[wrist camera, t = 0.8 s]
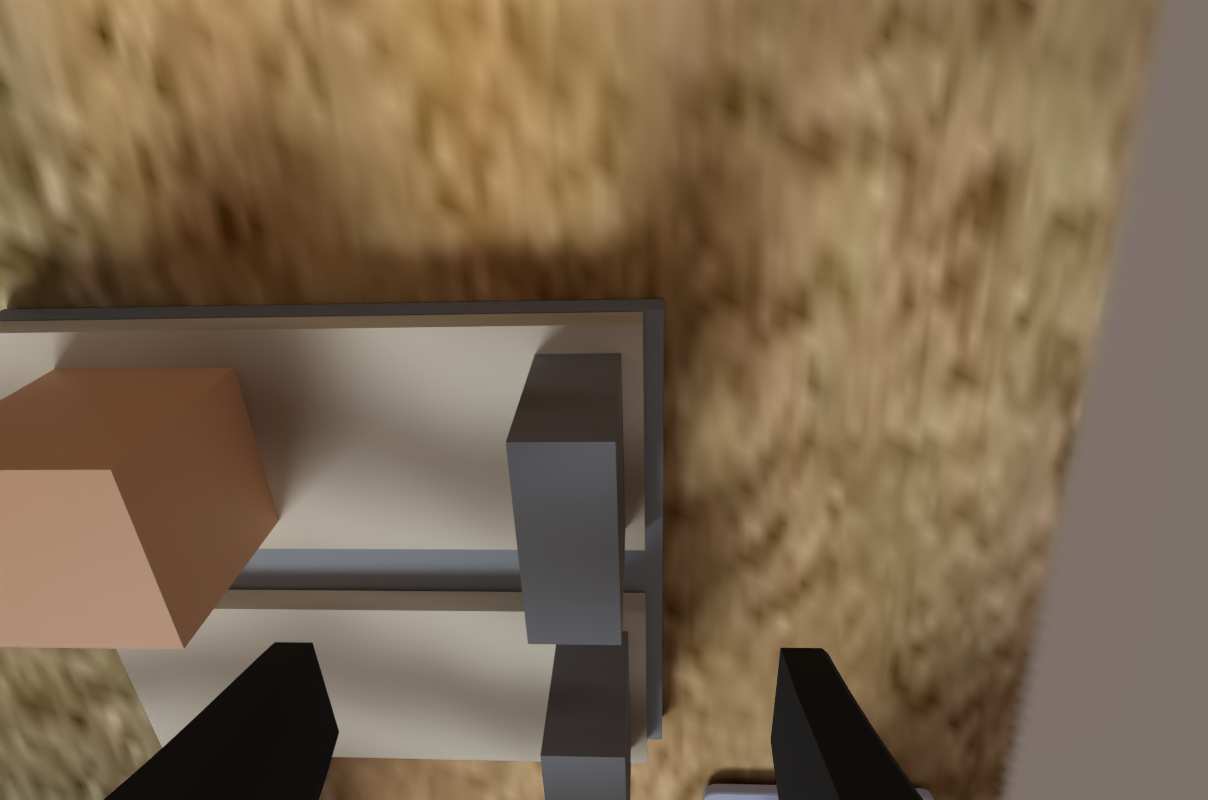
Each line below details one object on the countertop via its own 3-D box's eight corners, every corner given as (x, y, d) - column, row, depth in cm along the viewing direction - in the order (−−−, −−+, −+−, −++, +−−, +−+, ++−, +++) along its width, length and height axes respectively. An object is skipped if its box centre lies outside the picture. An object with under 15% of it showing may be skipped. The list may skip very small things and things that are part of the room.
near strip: (644, 531, 20) (645, 669, 16) (88, 530, 21) (-55, 659, 17) (642, 311, 17) (642, 407, 13) (-5, 321, 18) (-208, 413, 14)
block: (279, 520, 19) (184, 649, 15) (117, 520, 20) (-18, 646, 16) (234, 366, 17) (110, 469, 13) (53, 369, 17) (-121, 470, 13)
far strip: (646, 741, 24) (647, 897, 20) (178, 732, 25) (81, 879, 20) (645, 592, 21) (646, 737, 17) (114, 588, 22) (-14, 724, 18)
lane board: (661, 718, 25) (661, 739, 24) (179, 710, 26) (166, 729, 25) (663, 298, 18) (664, 309, 17) (4, 309, 19) (-21, 320, 18)
